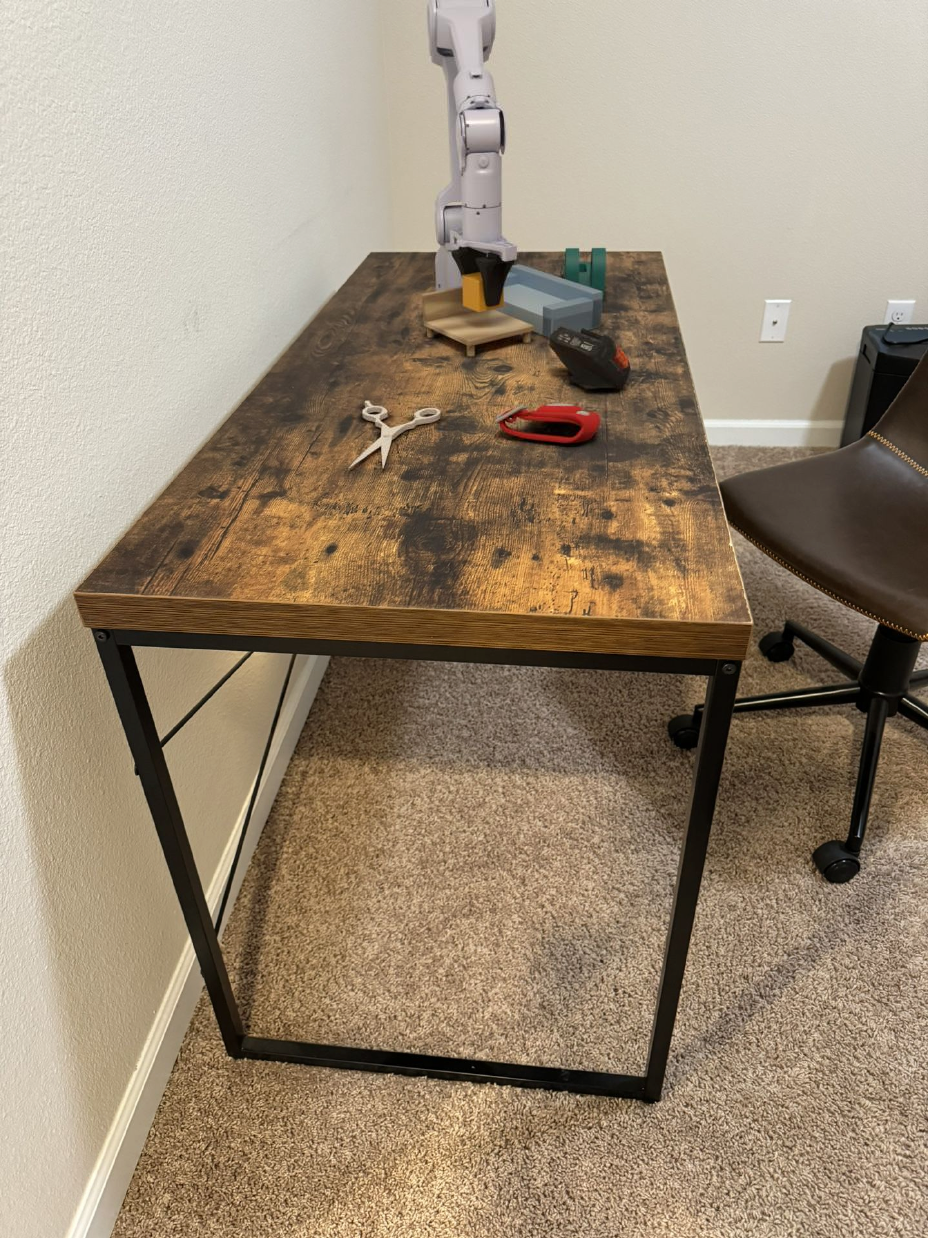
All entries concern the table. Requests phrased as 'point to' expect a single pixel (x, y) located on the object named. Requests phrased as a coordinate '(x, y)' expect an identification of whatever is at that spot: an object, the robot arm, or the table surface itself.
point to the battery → (590, 358)
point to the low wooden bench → (468, 320)
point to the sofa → (550, 301)
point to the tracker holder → (552, 414)
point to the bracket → (586, 268)
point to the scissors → (393, 432)
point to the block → (476, 293)
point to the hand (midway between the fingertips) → (483, 301)
